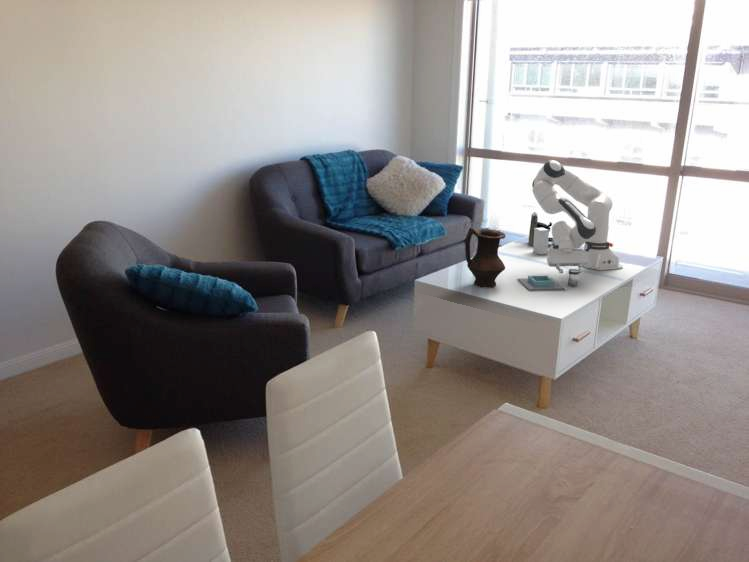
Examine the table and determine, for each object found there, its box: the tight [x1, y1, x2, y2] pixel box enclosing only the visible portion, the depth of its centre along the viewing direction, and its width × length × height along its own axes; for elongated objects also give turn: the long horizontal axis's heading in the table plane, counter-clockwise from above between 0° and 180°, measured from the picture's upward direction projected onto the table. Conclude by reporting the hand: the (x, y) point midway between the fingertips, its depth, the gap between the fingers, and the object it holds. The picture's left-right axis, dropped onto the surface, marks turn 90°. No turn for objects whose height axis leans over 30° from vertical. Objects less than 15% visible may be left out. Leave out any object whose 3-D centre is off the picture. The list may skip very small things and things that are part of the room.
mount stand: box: [517, 275, 566, 292], centre depth 329 cm, size 18×18×4 cm
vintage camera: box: [528, 211, 553, 247], centre depth 409 cm, size 10×16×20 cm, turn 78°
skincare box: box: [532, 228, 550, 255], centre depth 390 cm, size 8×6×15 cm
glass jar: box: [567, 268, 580, 288], centre depth 328 cm, size 5×5×8 cm
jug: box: [464, 226, 506, 288], centre depth 325 cm, size 21×18×30 cm
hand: (570, 272), depth 328 cm, fingers open, 8 cm apart
